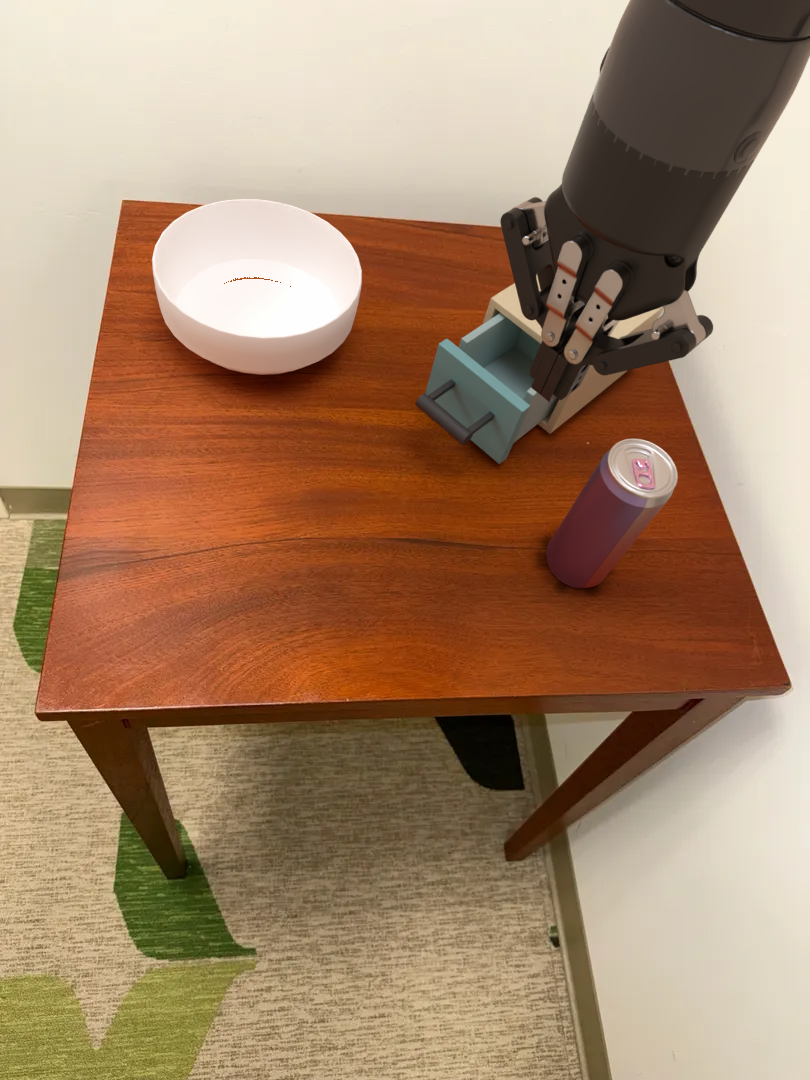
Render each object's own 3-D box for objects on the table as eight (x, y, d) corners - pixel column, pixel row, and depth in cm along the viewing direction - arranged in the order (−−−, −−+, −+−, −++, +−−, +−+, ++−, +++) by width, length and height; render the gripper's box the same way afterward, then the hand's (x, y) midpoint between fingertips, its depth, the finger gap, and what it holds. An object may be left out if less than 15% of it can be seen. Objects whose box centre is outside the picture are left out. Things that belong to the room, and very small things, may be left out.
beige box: (549, 434, 79) (583, 368, 71) (467, 367, 82) (490, 297, 74) (627, 371, 86) (665, 305, 78) (549, 311, 89) (578, 242, 81)
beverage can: (548, 589, 69) (613, 496, 56) (540, 533, 72) (600, 433, 60) (610, 593, 70) (688, 501, 57) (599, 537, 73) (671, 439, 61)
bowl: (185, 252, 84) (179, 182, 77) (362, 284, 86) (372, 219, 79) (139, 383, 74) (126, 316, 67) (341, 417, 76) (350, 355, 68)
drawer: (468, 489, 72) (489, 437, 66) (390, 422, 75) (403, 366, 69) (579, 400, 81) (607, 346, 74) (506, 342, 84) (527, 285, 77)
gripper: (850, 164, 33) (666, 426, 47) (608, 17, 36) (507, 303, 51) (769, 227, 29) (597, 489, 44) (509, 57, 32) (430, 352, 47)
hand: (548, 389), depth 47 cm, fingers closed
